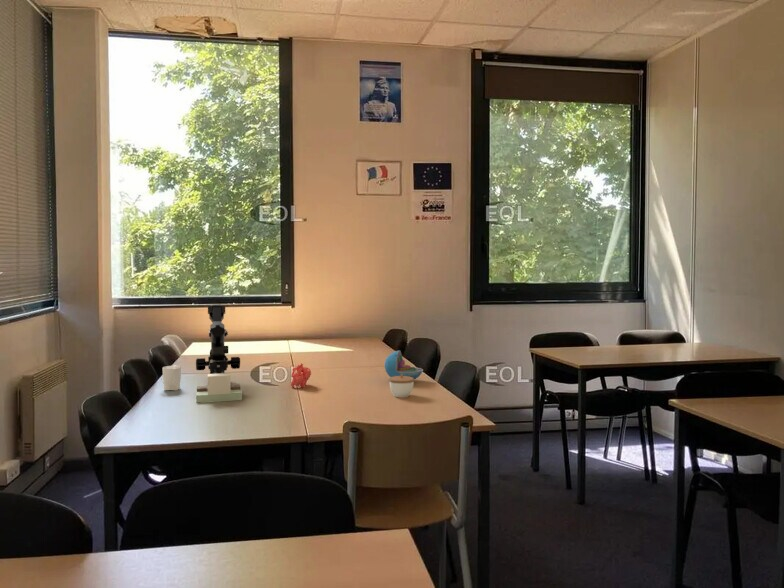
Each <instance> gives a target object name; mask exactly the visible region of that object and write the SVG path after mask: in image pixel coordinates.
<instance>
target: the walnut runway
mask: <svg viewBox="0 0 784 588" xmlns="http://www.w3.org/2000/svg"><path fill="white" fill-rule="evenodd" d="M230 390H241V385H240V383H230ZM206 391H208V384H207V385H196V393H197V392H206Z"/></svg>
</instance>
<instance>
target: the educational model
mask: <svg viewBox="0 0 784 588" xmlns="http://www.w3.org/2000/svg"><path fill="white" fill-rule="evenodd" d="M401 351H402V350H395V351H393V352H392V353H390V354H389V355H388V356H387V357H386V358H385V361H384V369H385V372H386V374H387V375H388V377H389V378H390V377H394V376H400V375H401V374H403V376H409V377H412V378H414V381H415V380H416V379H417V378H419V377H420V376H421V375H422V374H423V371H424V369H423V368H421V367H415V366H411V365H409V364H406V363H405V360H404V359H403V354H402V352H401Z"/></svg>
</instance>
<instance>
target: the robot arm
mask: <svg viewBox="0 0 784 588" xmlns="http://www.w3.org/2000/svg"><path fill="white" fill-rule="evenodd" d="M225 314H226V305H224V304H221V303H220V304H219V303H218V304H217V303H215V304H214V303H213V304H210V305H208V306H207V315H208V316H209V317H208V319H209V320H210V321H211V322H212V323H211V324H210V325H209V326H210V329H208V337H209V338H210V346H211V347H210V351H209V356H208V358H207V360H206V357H203V358H202V357H201V358H200V357H199V358H196V359H195V370H196V371H205V370H206V367H207V368H208V370H209V374H219V373H225V371H227V370H228V368H229V366H230V369H232V370H234V369H235V370H236V369H240V367H241V357H240V356H231V357H230V359H229V358H228V356H227V355H226V354H229V345H225V337H226V338H227V336H228V335H229V334H228V332H229V331H228V330H227V329H226V328H225V324H224V323H223V322H222V321H223V320H224V317H225Z"/></svg>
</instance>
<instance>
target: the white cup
mask: <svg viewBox="0 0 784 588" xmlns="http://www.w3.org/2000/svg"><path fill="white" fill-rule="evenodd" d="M162 380H163V390H164V389H165V390H164V391H166V390H175V391H178V389H179V390H180V389H181V380H182V366H180V365H167V366H163V367H162Z"/></svg>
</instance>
